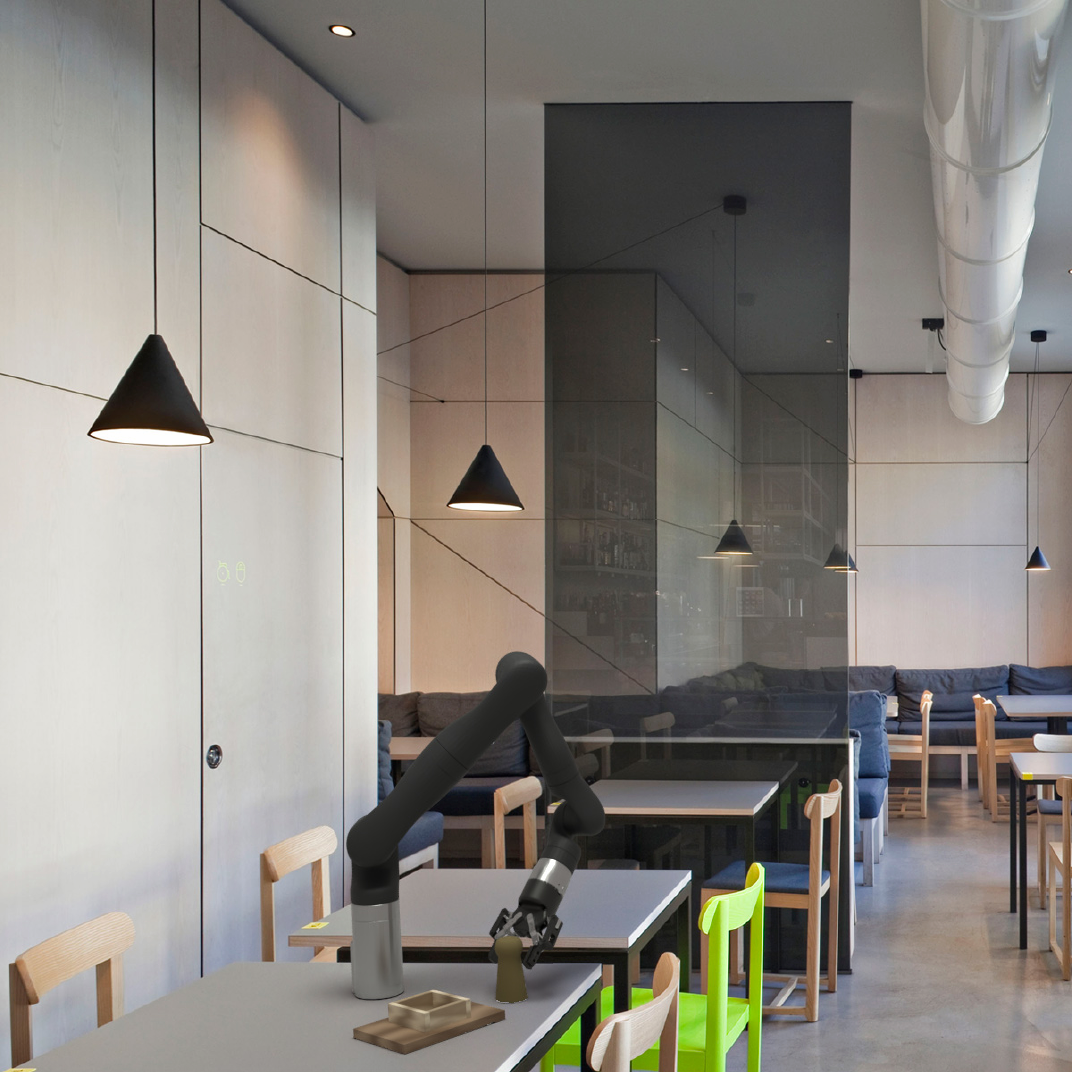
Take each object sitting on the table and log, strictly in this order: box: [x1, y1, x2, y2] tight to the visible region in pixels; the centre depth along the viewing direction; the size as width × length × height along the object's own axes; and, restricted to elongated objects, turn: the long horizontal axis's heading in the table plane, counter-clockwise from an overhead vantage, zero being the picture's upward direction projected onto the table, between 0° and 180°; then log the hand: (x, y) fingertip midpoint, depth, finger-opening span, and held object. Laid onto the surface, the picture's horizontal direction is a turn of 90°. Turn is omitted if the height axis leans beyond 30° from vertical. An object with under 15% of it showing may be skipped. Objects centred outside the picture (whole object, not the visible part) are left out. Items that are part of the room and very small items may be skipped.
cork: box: [494, 935, 529, 1004], centre depth 225 cm, size 6×6×11 cm
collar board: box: [352, 989, 506, 1055], centre depth 210 cm, size 14×22×4 cm, turn 134°
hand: (509, 964), depth 224 cm, fingers open, 8 cm apart
